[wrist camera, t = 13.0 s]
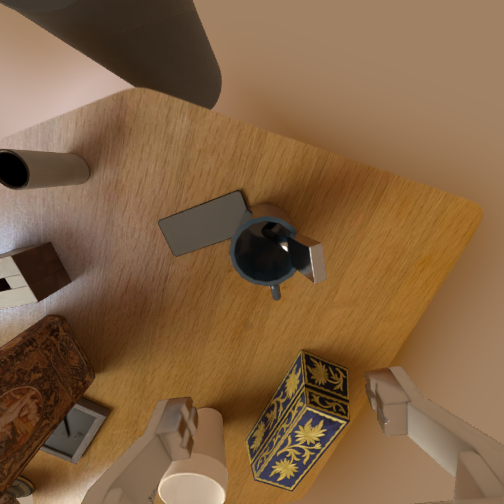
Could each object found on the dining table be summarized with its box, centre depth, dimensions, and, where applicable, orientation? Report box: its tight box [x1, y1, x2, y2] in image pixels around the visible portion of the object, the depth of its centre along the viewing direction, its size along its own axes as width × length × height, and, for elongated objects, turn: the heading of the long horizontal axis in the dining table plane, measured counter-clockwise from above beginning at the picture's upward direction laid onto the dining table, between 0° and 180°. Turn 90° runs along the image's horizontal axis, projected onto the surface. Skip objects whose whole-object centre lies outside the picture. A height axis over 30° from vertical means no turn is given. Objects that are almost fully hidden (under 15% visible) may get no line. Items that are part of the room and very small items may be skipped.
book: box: [0, 315, 95, 499], centre depth 37 cm, size 16×6×25 cm, turn 12°
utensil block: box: [0, 242, 71, 310], centre depth 40 cm, size 8×8×7 cm
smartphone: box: [158, 190, 248, 257], centre depth 39 cm, size 7×1×15 cm
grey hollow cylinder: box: [0, 149, 89, 190], centre depth 32 cm, size 4×4×10 cm
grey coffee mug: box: [229, 203, 298, 301], centre depth 35 cm, size 13×9×11 cm
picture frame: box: [39, 397, 110, 464], centre depth 56 cm, size 16×2×21 cm
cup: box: [158, 408, 228, 504], centre depth 48 cm, size 12×12×14 cm
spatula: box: [262, 228, 327, 283], centre depth 31 cm, size 4×1×17 cm, turn 13°
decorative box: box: [245, 350, 350, 491], centre depth 48 cm, size 11×30×9 cm, turn 157°
